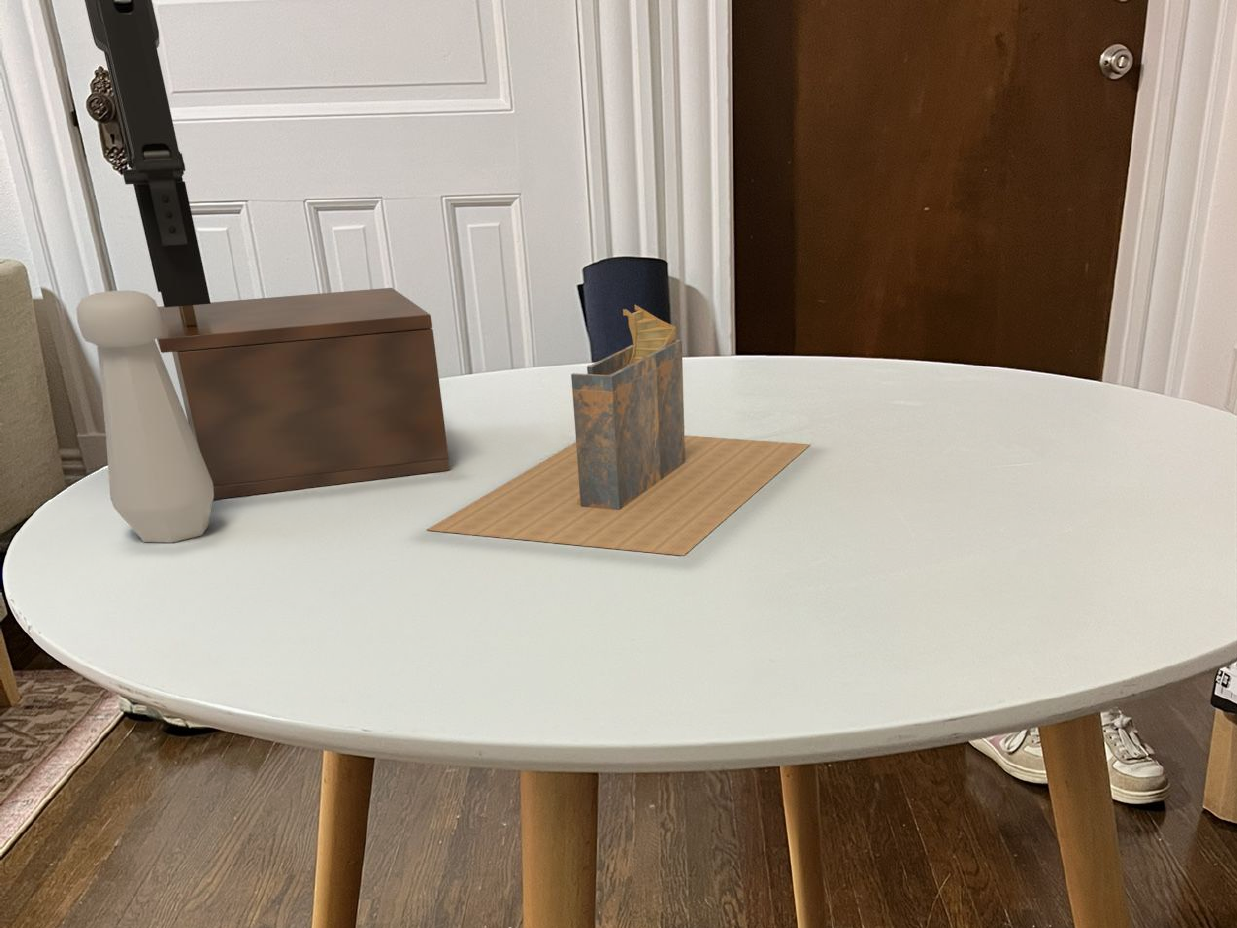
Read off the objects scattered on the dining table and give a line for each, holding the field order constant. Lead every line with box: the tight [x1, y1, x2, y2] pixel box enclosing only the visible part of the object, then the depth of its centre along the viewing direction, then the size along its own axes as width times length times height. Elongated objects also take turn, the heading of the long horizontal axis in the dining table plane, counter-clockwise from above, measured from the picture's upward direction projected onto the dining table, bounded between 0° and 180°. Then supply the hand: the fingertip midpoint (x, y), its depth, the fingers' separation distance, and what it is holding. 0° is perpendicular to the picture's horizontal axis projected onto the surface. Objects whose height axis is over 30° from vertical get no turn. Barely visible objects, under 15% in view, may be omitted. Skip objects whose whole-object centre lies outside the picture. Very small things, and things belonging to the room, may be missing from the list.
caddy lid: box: [156, 287, 433, 354], centre depth 83 cm, size 16×13×9 cm
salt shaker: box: [75, 290, 214, 544], centre depth 75 cm, size 6×6×13 cm
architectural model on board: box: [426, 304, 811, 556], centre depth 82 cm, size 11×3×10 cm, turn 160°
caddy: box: [171, 328, 451, 501], centre depth 88 cm, size 16×13×9 cm
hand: (183, 296), depth 83 cm, fingers closed on caddy lid, 6 cm apart
